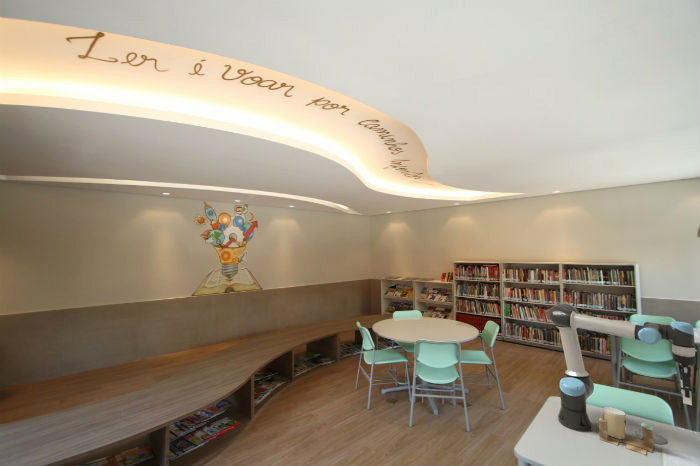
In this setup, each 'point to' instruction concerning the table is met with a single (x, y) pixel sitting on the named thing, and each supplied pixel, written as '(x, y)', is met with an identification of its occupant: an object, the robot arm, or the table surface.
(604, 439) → the broken strip
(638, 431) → the coaster
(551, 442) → the table surface
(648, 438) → the wooden l bracket
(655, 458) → the table surface
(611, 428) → the coffee cup
